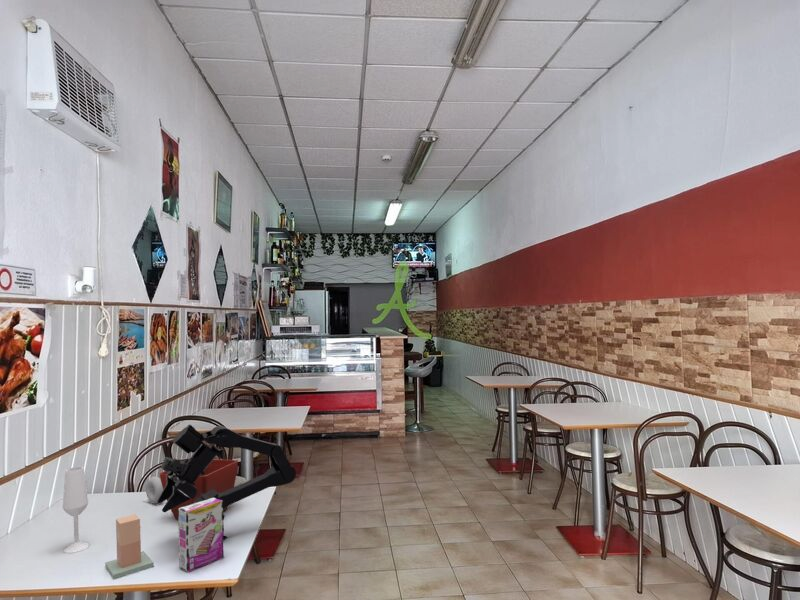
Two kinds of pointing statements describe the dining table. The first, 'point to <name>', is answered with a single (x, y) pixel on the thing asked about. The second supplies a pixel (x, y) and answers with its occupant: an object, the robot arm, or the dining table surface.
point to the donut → (154, 489)
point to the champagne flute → (75, 502)
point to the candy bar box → (200, 533)
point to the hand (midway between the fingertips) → (160, 507)
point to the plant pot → (209, 480)
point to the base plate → (120, 572)
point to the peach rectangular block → (128, 540)
